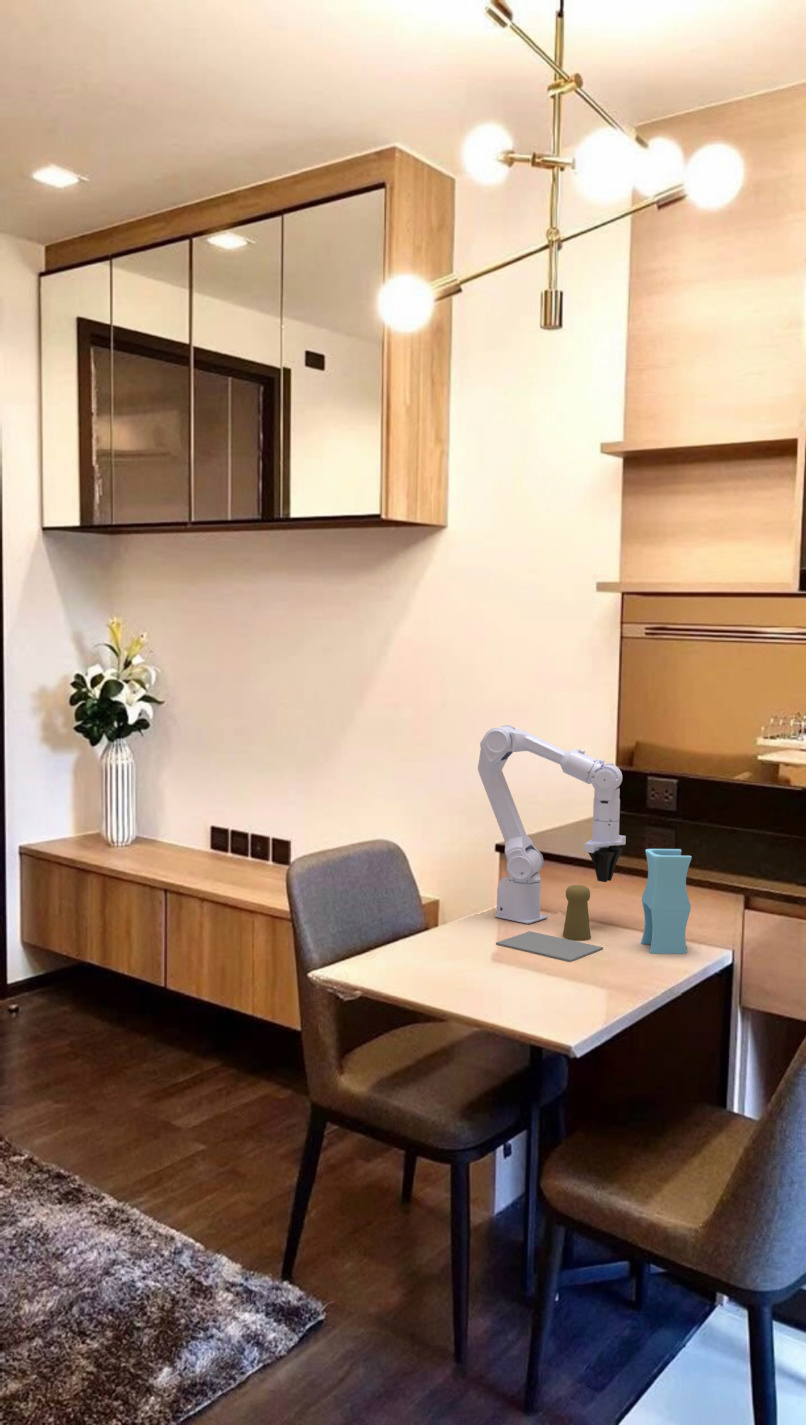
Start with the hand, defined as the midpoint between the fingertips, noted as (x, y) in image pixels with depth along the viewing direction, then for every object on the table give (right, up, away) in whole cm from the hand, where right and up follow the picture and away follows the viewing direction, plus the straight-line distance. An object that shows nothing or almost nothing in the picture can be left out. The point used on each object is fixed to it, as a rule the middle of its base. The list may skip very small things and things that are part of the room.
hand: (604, 880), depth 240 cm
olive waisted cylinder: (-7, -11, -8) cm, 15 cm away
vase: (+10, -12, -15) cm, 22 cm away
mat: (-14, -11, -16) cm, 24 cm away
